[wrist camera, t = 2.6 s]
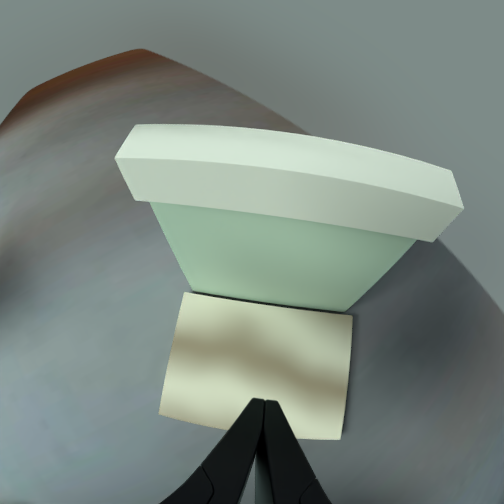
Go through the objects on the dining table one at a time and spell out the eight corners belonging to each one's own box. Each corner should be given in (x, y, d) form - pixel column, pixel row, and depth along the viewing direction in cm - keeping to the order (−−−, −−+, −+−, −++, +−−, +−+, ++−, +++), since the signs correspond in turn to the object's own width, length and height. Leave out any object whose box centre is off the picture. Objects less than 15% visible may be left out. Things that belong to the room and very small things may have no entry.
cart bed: (336, 438, 17) (340, 439, 16) (161, 413, 18) (158, 414, 17) (349, 318, 21) (352, 315, 21) (186, 295, 22) (184, 292, 21)
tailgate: (344, 321, 21) (464, 208, 8) (190, 300, 22) (114, 158, 8) (345, 300, 22) (451, 170, 8) (195, 279, 23) (135, 124, 9)
